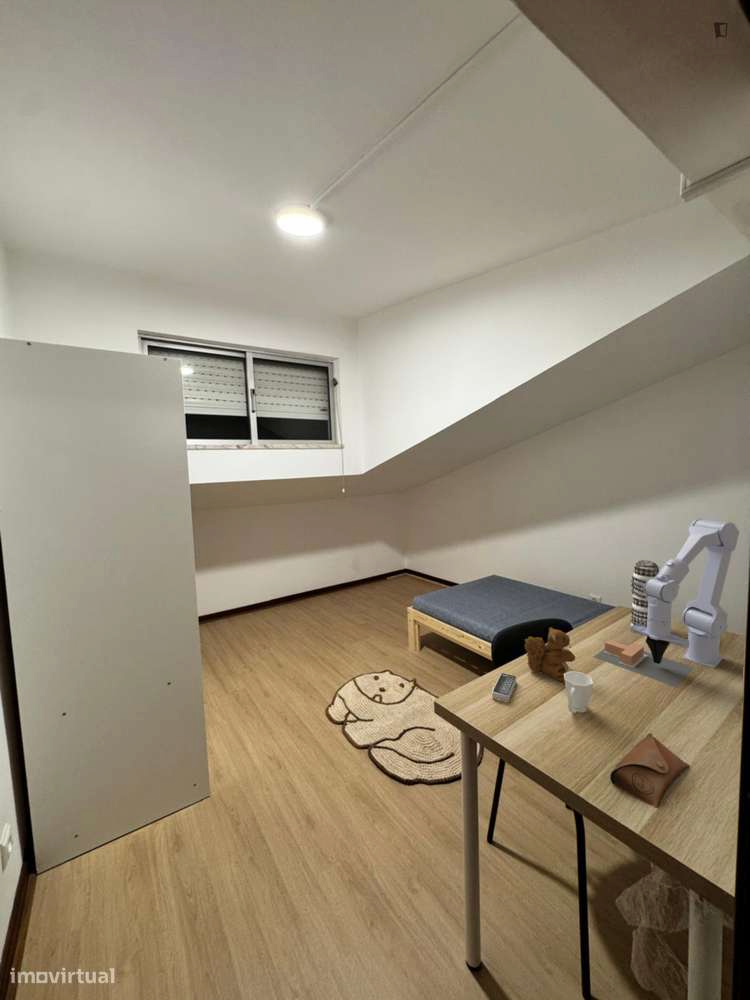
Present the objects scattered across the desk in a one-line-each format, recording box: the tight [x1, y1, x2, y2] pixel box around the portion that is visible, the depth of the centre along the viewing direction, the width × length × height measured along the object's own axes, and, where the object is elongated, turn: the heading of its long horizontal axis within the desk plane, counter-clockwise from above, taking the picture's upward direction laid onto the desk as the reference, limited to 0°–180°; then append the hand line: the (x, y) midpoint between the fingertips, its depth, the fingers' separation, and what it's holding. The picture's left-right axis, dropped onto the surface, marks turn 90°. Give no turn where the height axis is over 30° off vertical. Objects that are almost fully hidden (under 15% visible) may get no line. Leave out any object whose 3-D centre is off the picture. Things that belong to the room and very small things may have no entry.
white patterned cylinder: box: [630, 560, 661, 627], centre depth 145 cm, size 9×9×25 cm
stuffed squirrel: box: [524, 627, 576, 683], centre depth 118 cm, size 10×14×13 cm
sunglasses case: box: [609, 732, 690, 809], centre depth 80 cm, size 18×7×7 cm, turn 126°
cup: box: [564, 670, 594, 714], centre depth 100 cm, size 7×10×8 cm
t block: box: [604, 639, 645, 666], centre depth 126 cm, size 10×9×3 cm
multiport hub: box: [491, 672, 517, 703], centre depth 110 cm, size 4×11×2 cm, turn 149°
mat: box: [593, 643, 695, 688], centre depth 122 cm, size 16×22×1 cm
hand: (657, 662), depth 118 cm, fingers closed
